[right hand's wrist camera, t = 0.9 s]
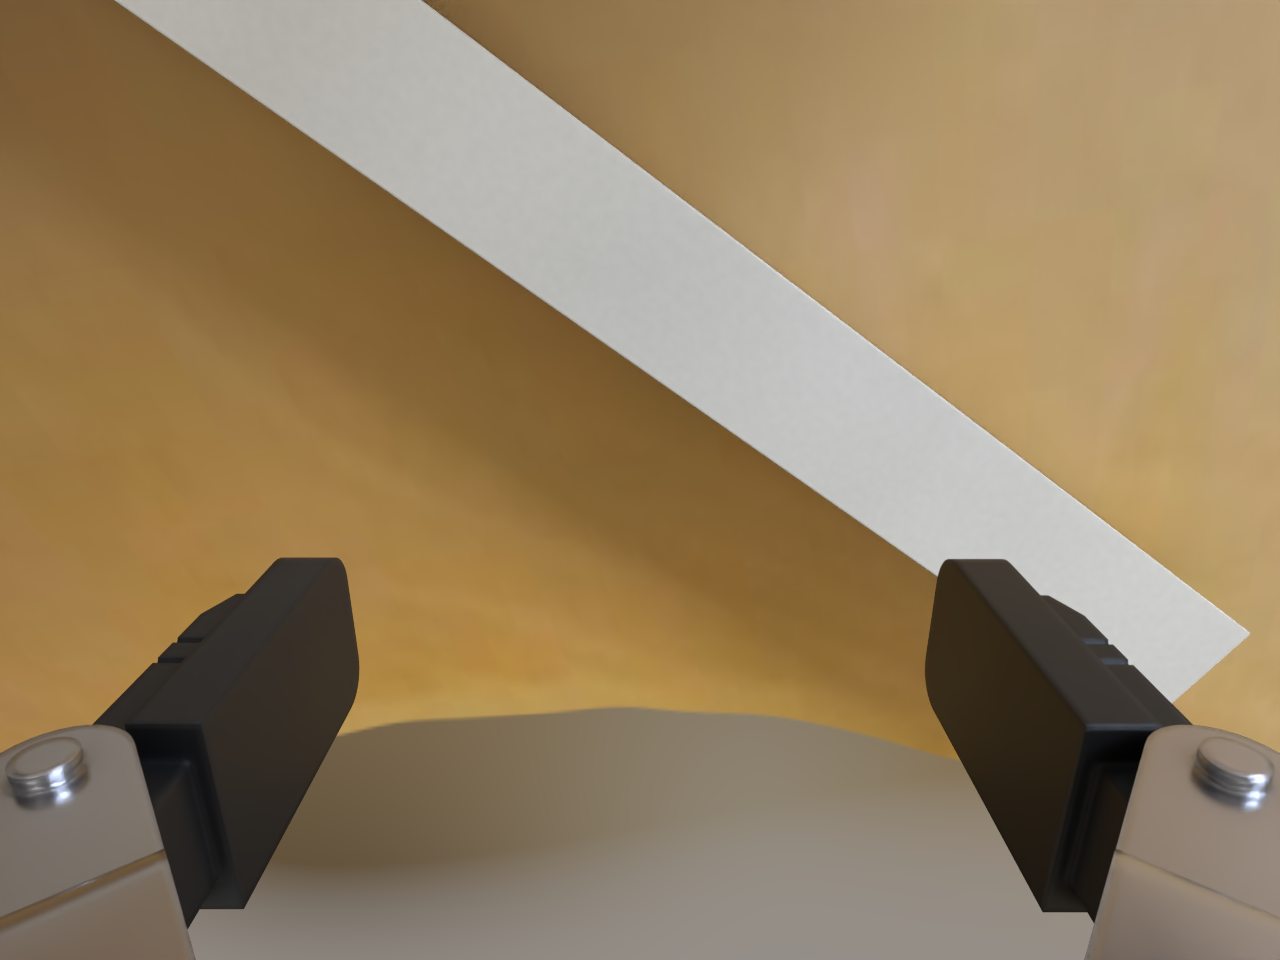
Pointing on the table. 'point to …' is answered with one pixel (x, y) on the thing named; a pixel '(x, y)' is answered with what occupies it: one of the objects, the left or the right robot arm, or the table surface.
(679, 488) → the table surface
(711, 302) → the bar
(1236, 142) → the table surface
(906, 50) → the table surface
